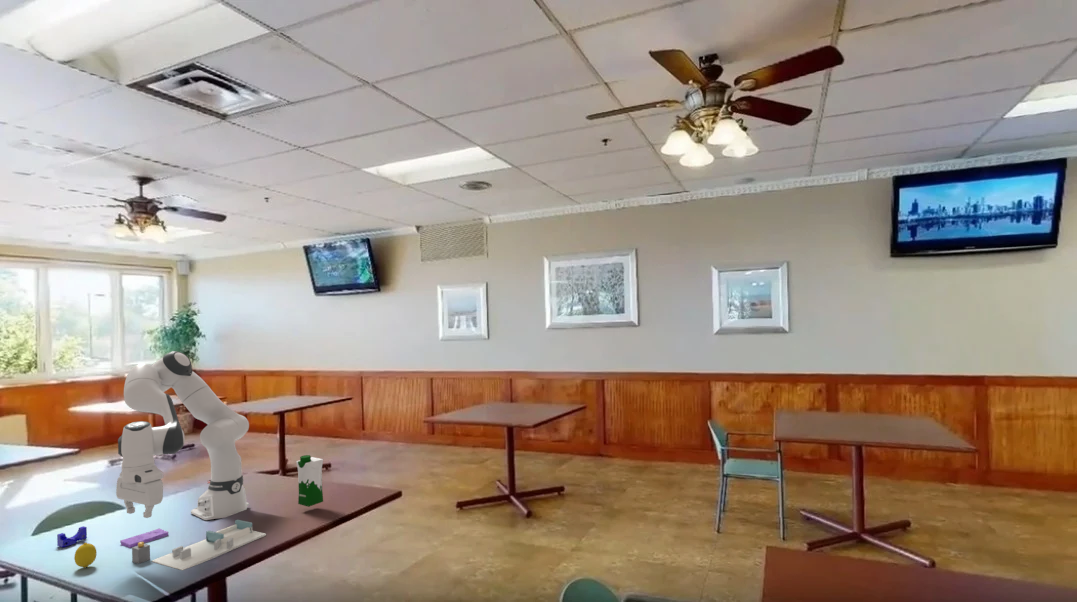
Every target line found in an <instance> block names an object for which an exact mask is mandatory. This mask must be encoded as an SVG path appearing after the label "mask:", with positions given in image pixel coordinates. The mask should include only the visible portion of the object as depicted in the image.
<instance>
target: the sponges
mask: <svg viewBox="0 0 1077 602" xmlns="http://www.w3.org/2000/svg"><path fill="white" fill-rule="evenodd" d="M167 536H169V531H167V530H164V529H162V528H157V529H152V530H151V531H148V532H143V533H140V534H137V535H134V536H131V537H127V538H125V539H121V540H120V546H124V547H126V548H129V549H132V547H135V546H138V543H139V542H144V544H147V543H150V542H152V541H156V540H159V539H161V538H162V539H163V538H165V537H167Z"/></svg>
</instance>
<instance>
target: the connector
mask: <svg viewBox="0 0 1077 602" xmlns="http://www.w3.org/2000/svg"><path fill="white" fill-rule="evenodd" d="M131 558H132V559H131V560H132V561H131V563H134V562H135V564H138V565H139V563H140V564H142V563H145V562H147V561H151V546H150V544H147V543H144V542H139V543H138V545H137V546H134V547H131Z"/></svg>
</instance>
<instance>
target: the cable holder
mask: <svg viewBox="0 0 1077 602" xmlns="http://www.w3.org/2000/svg"><path fill="white" fill-rule="evenodd" d="M87 529H88V528H87V526H80V527H78V530H77V532H76V533H75V534H74V535H73V536H71V537H67V535H66V533H64V532H61V533H58V534H57V538H56V541H57V547H59V548H66V547H69V546H72V545H74V544H77V542H79V541H83V540H84V539H87V538H88V536H87V535H88V534H87V533H88V532H87Z"/></svg>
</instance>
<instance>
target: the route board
mask: <svg viewBox="0 0 1077 602" xmlns="http://www.w3.org/2000/svg"><path fill="white" fill-rule="evenodd" d="M265 536H267V533H265V532H262V531H261V532H260V531H256V530H252V532H251V533H249V534H247V535H244V536H242V537H239V538H237V539H235V540H233V538H230V539H229V540H228V541H227V543H225V544H223V545H221V539H217V540H216V541H215V542H214V543H211V542H207V541H206V538H205V539H203V540H200V541H198V542H195V543H193V544H190V545H187V546H185V547H184V545H180V546H178V547H175V548H172V549H171V550H172V552H170V553H167V554H165V555H162V556H160V557H157V558H155V559H152V560H151V563H154V564H158V565H161V566H165V567H168V568H172V569H176V570H180V571H185V570H187V569H190V568H192V567H195V566H198V565H201V564H203V563H205V562H207V561H210V560H213V559H215V558H217V557H219V556H222V555H224V554H226V553H228V552H232V551H233V550H235V549H238V548H240V547H242V546H244V545H247V544H250V543H251V542H255V541H256V540H258V539H260V538H263V537H265Z"/></svg>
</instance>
